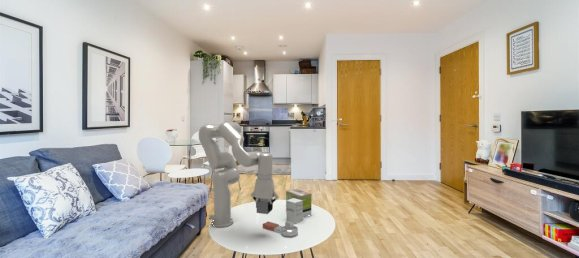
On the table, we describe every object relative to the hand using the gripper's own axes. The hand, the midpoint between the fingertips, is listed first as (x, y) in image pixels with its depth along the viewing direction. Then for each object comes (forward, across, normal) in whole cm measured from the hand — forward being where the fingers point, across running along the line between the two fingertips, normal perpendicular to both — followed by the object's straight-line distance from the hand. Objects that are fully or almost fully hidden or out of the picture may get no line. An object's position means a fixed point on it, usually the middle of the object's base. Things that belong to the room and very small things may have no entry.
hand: (264, 209), depth 140 cm
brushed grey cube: (+1, 0, 0) cm, 1 cm away
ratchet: (+13, +7, +7) cm, 17 cm away
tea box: (+14, +10, +36) cm, 40 cm away
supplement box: (+14, +11, +24) cm, 30 cm away
